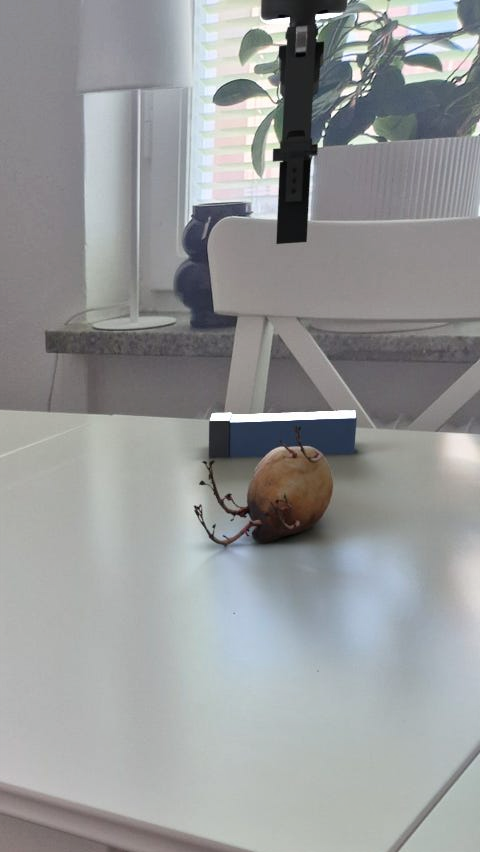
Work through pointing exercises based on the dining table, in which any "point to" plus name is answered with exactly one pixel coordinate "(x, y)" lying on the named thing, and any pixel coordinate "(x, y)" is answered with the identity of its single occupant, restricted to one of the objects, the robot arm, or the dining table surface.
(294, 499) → the vegetable
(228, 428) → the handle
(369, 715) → the dining table surface
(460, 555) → the dining table surface
